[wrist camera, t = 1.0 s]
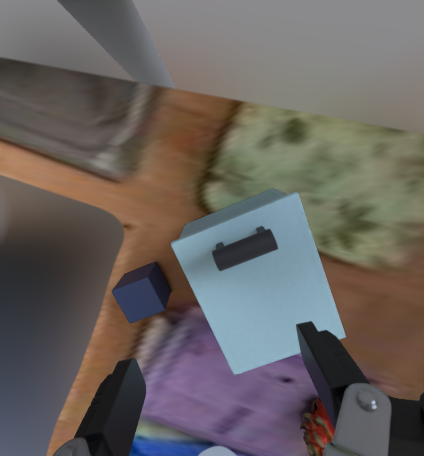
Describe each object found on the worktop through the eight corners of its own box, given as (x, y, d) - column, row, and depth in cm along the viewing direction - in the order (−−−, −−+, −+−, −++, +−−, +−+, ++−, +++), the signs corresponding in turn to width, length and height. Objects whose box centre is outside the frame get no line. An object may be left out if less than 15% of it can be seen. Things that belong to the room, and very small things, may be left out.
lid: (171, 241, 25) (161, 261, 20) (295, 191, 24) (316, 199, 19) (233, 369, 29) (237, 412, 24) (342, 332, 27) (370, 369, 23)
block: (124, 273, 36) (111, 291, 32) (156, 261, 36) (147, 277, 31) (140, 302, 38) (129, 323, 33) (171, 290, 37) (165, 310, 32)
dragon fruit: (291, 419, 45) (334, 367, 45) (334, 466, 41) (382, 410, 41) (284, 443, 38) (336, 381, 37) (336, 504, 34) (395, 437, 33)
